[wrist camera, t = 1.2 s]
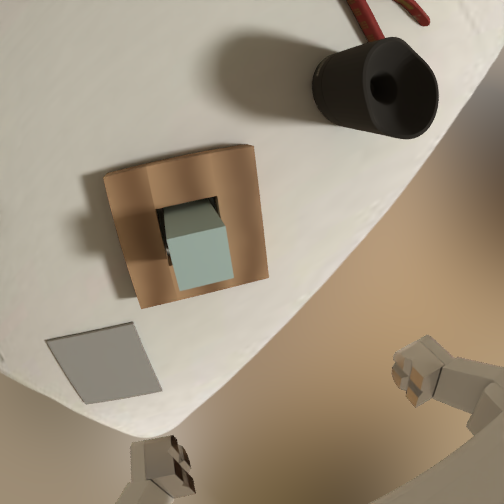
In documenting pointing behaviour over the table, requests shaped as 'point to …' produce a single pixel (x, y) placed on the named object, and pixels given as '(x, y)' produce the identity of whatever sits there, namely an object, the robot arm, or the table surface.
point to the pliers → (370, 24)
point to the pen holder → (378, 89)
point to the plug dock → (180, 191)
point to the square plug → (197, 244)
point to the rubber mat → (106, 364)
